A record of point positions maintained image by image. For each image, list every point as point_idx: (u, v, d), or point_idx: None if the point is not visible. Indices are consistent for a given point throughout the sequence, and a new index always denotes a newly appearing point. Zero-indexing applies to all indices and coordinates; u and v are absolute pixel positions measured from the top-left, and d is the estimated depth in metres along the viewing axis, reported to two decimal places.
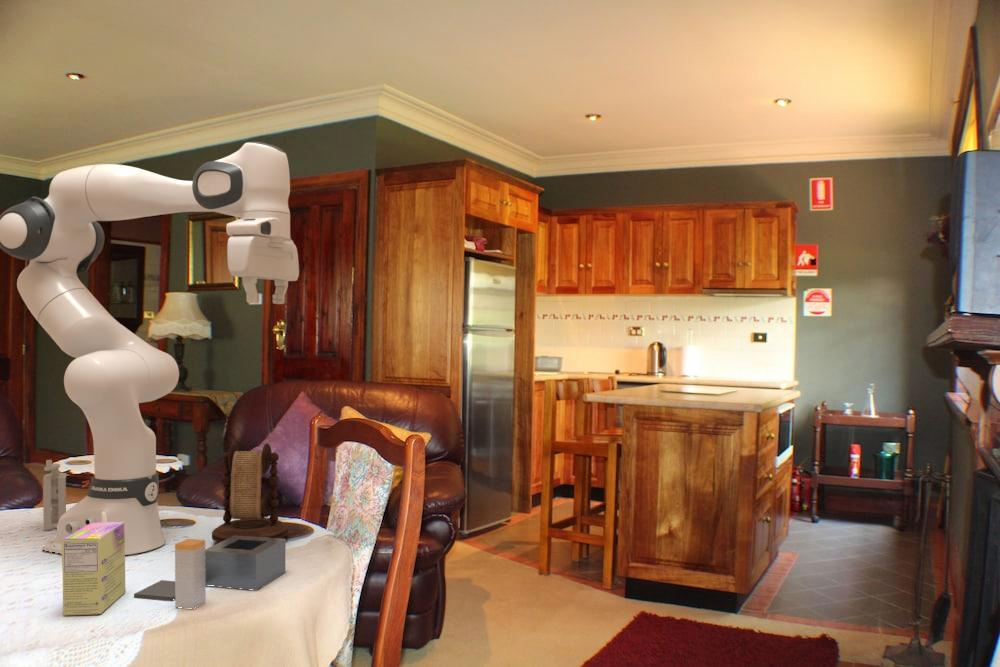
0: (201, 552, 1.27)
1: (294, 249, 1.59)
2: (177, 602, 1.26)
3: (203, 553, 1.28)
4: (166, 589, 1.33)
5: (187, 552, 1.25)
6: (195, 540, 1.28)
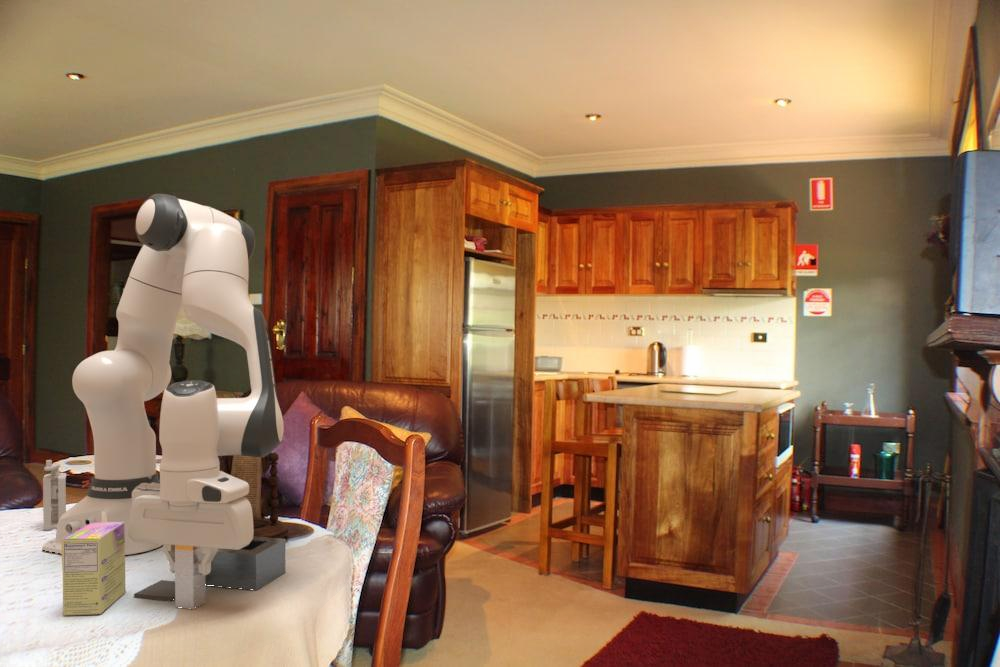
0: (201, 552, 1.27)
1: None
2: (177, 602, 1.26)
3: None
4: (166, 589, 1.33)
5: (187, 552, 1.25)
6: None
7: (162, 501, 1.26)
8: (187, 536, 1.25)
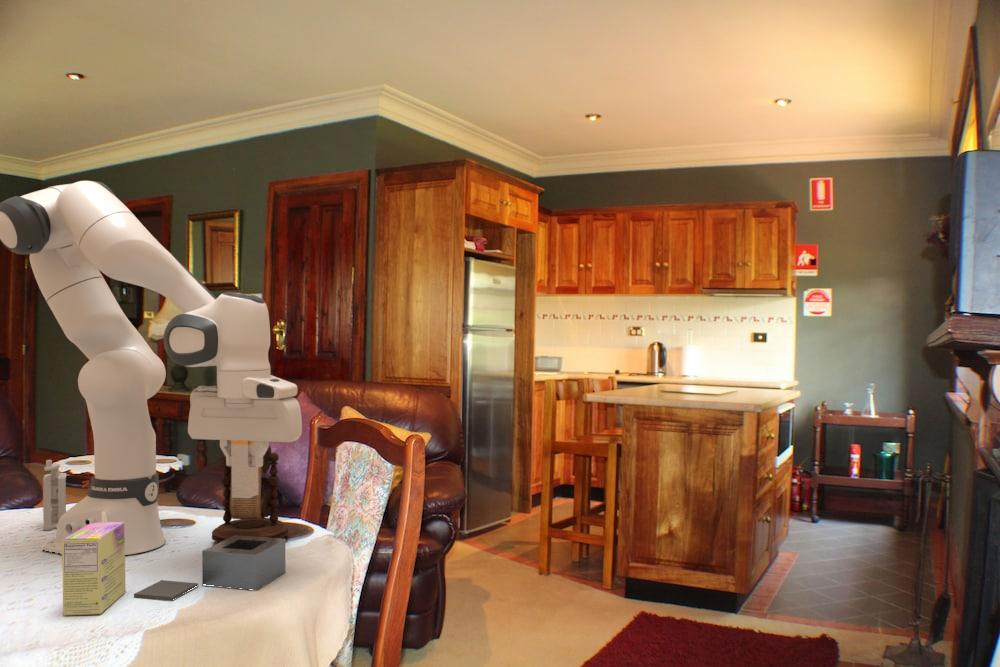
0: (254, 447, 1.40)
1: None
2: (233, 492, 1.38)
3: (256, 449, 1.40)
4: (166, 589, 1.33)
5: (242, 446, 1.38)
6: None
7: (219, 400, 1.38)
8: (242, 431, 1.38)
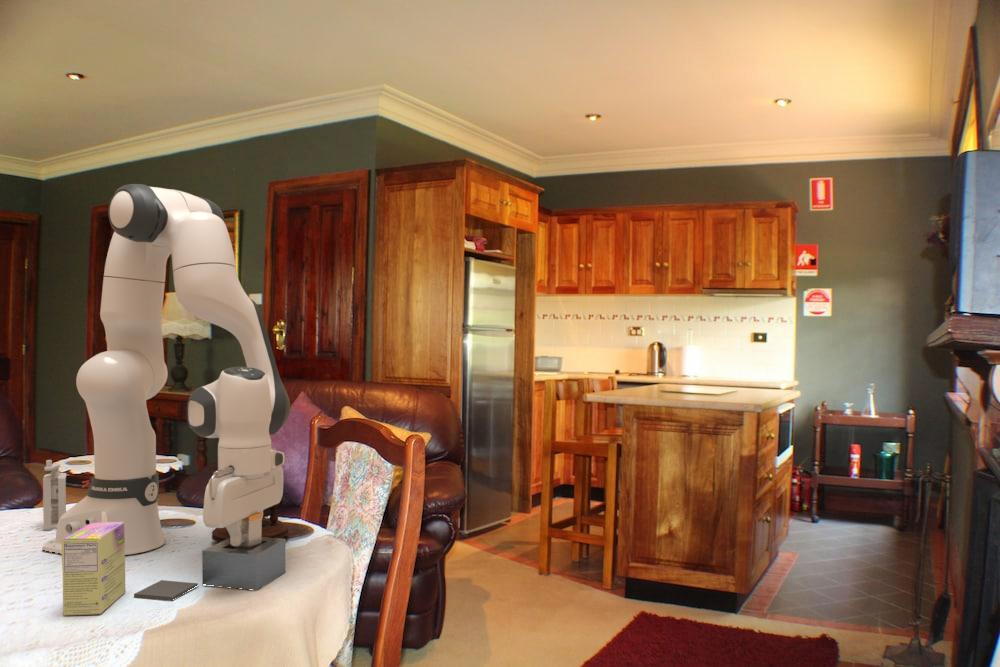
0: None
1: None
2: None
3: None
4: (166, 589, 1.33)
5: (257, 520, 1.39)
6: None
7: (242, 479, 1.36)
8: (256, 504, 1.40)
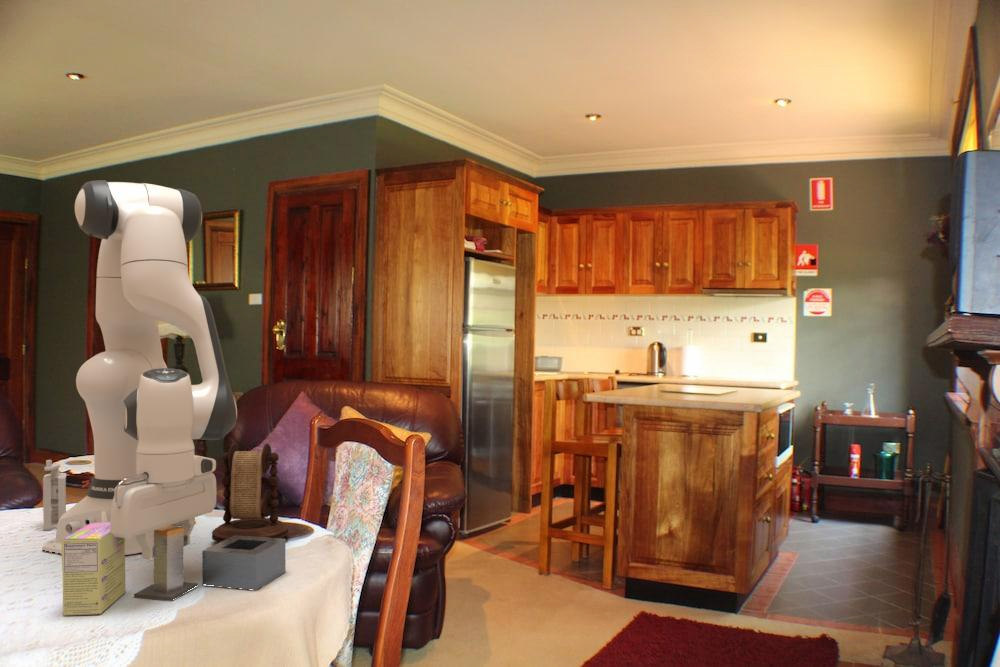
0: None
1: None
2: (169, 587, 1.31)
3: None
4: None
5: (178, 535, 1.33)
6: (165, 527, 1.33)
7: (157, 487, 1.29)
8: (178, 513, 1.33)
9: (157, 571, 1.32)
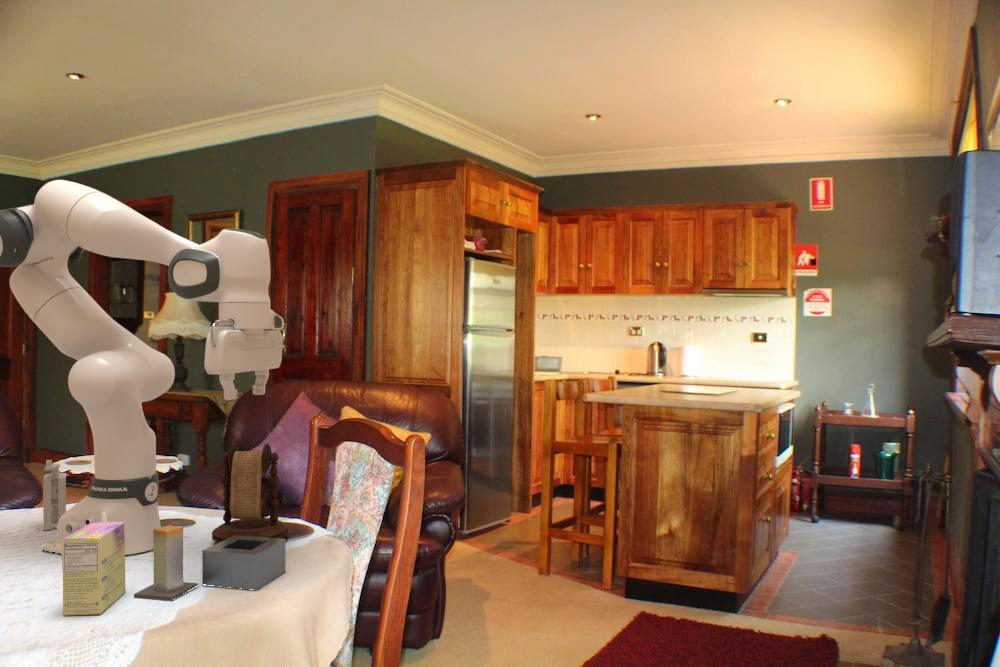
0: None
1: None
2: (168, 587, 1.31)
3: None
4: None
5: (177, 535, 1.32)
6: (165, 527, 1.33)
7: (242, 333, 1.40)
8: (256, 362, 1.44)
9: (157, 571, 1.32)
